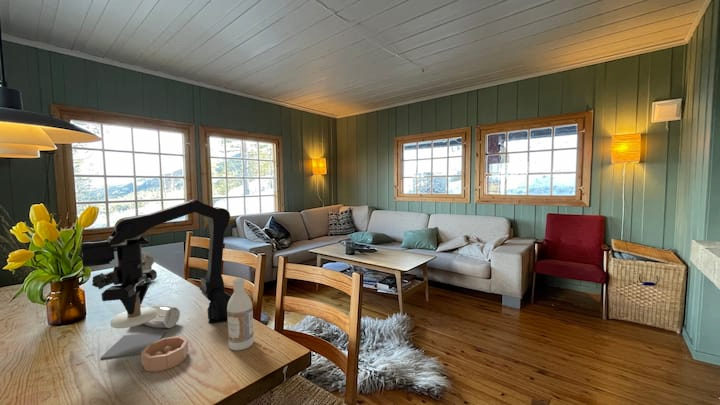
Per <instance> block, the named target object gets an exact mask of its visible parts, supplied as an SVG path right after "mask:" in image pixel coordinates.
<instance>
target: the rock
mask: <svg viewBox="0 0 720 405" xmlns="http://www.w3.org/2000/svg"><path fill="white" fill-rule="evenodd" d="M142 261H145V265H143V270H151V269H152V266H153V264H154V263H155V258H154V256H150V254H149V253H148V252H145V251H143V250H142ZM147 279H148V278H145V279H144V281H146V280H147Z"/></svg>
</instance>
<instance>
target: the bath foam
mask: <svg viewBox="0 0 720 405" xmlns="http://www.w3.org/2000/svg"><path fill="white" fill-rule="evenodd" d="M232 286H233V293H232V295H230V296H231V298H230V300H229V302H228V306H227V319H228V321H227V336H228V347H229V349H230V350H232V351H237V352H238V351H242V350H246V349H248V348H250V347H252V346H253V344H254V341H255V339H254V337H255V336H254V314H253V302H252V298H251V297H250V295H249V294H248V293H247V292H246V291H245V279H244V278H242V277H239V278H234V279H233V285H232Z"/></svg>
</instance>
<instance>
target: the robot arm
mask: <svg viewBox="0 0 720 405" xmlns="http://www.w3.org/2000/svg"><path fill="white" fill-rule="evenodd" d="M194 213H196V214H198V215H200V216H203V217H205V218H206V221H207V227H208V230H209V243H208V244H209V245H208V246H209V247H208V259H207V261H208V262H207V270H206V271H207V272H206V275H205V276H204V277H201V278H200V287H199V291H201V294H202V295H203V296H204V297H205V298H206V299H207V300H208V301H210V302H209V304H208V307H207V319H208V324H213V323H214V324H215V323H221V322H228V319H227V306H228V302H229V300H230V298H231V296H232V295H230V294H229V293H227V292H226V290H225V289H226V288H225V283H224V279H223V274H222V271H223V270H222V269H223V254H224V244H225V243H224V242H225V241H224V240H225V233H226V230H228V227H229V224H230V220H231V213H230V212H229V211H228V210H227V209H226V208H222V207H218V206H217V207H216V206H215V207H214V206H211V205H209V204H206V203H203V202H201V201H200V200H197V199H190V200H187V201H185V202H182V203H179V204H175V205H173V206H170V207H167V208H164V209H160V210H157V211H154V212H151V213H147V214H140V215H131V216H126V217H122V218H119V219H118V220H116V222H115V223H114V227H113V228H114V230H113V231H112V233H111V234H110V235H109V236H108V238H107V239H106V240H99V241H86V242H82V243H81V247H82V248H81V249H82V252H81V262H82V268H83V269H85V268H91V267H97V266H103V265H109V264H111V262H113V260H115V248H116V255H117V256H116V257H117V265H116V266H114V267H113V270H112V271H109V272H107V273H102V272H101V273H99V274H96V275H95V276H92V284H91V286H93V287H95V288H97V289H98V290H102V289H104V287H107V286H110V285H112V284H113V285H112V286H110V287H109V288H107V289H105V290H103V292H102V293H101V295H100V296H101V301H102V302H108V301H120V302H121V303H122V305H123V307H124V309H125V311H127V312H128V314H129V315H131V314H133V313H134V311H135V307H136V304H137V300H138V297H140V306H142V304H143V301H144V299H145V297H146V295H147V292H148V290H149V288H150V285H151V284H152V282H149V281H148V282H147V281H146V279H145V278H147V279H150V281H153V280H155V279H157V275H158V273H157V272H158V271H156V270H155V269H151V270H143V265H145V261H142V251H143V250H142V245H146V244H150V241H149V240H148V239H146V238H145V237H144V236H143V234H144V233H146V232H148V231H149V230H151V229H152V228H154V227H156V226H158V225H161V224H164V223H167V222H169V221H170V222H171V221H173V220H177V219H178V218H181V217H184V216H187V215H190V214H194ZM136 237H137V238H136ZM124 241H125V242H124ZM144 279H145V280H144Z"/></svg>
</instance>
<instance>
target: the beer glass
mask: <svg viewBox="0 0 720 405" xmlns="http://www.w3.org/2000/svg"><path fill="white" fill-rule="evenodd" d="M143 307H144V306H143V305H141V306H140V308H143ZM151 307H152V308H155V309H156V310H157V315H156V317H155V318H153V319H152V320H150V321H148V322H146V323H143V324H142V325H145V326H149V327H151V328H156V329H171V328H174V327H175V326H177V324H178V322H179V320H180V317H181V311H180V309H179V308H178V307H177V306H176V307H175V306H171V305H170V306H169V305H156V306H155V305H154V306H151Z"/></svg>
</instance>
